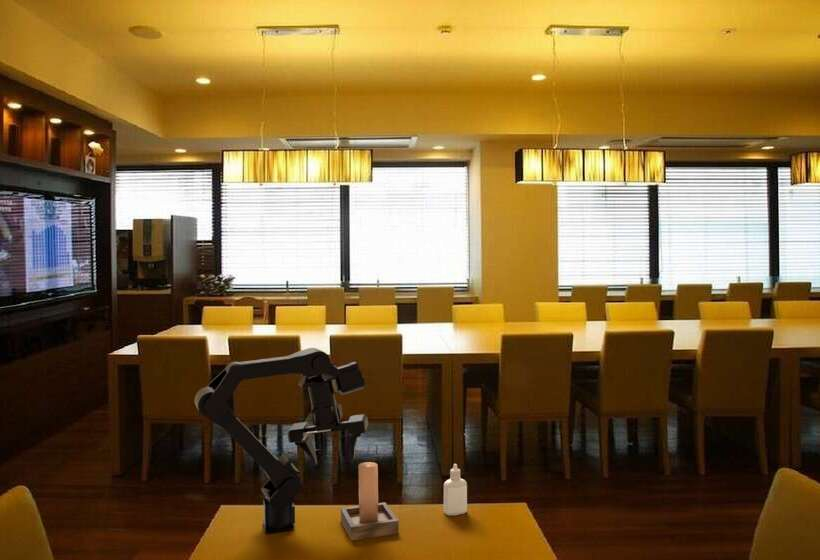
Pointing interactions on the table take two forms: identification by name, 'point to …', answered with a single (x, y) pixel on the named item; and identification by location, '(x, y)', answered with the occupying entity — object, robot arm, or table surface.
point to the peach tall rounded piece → (368, 492)
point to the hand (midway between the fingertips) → (334, 461)
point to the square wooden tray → (368, 530)
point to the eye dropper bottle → (455, 494)
